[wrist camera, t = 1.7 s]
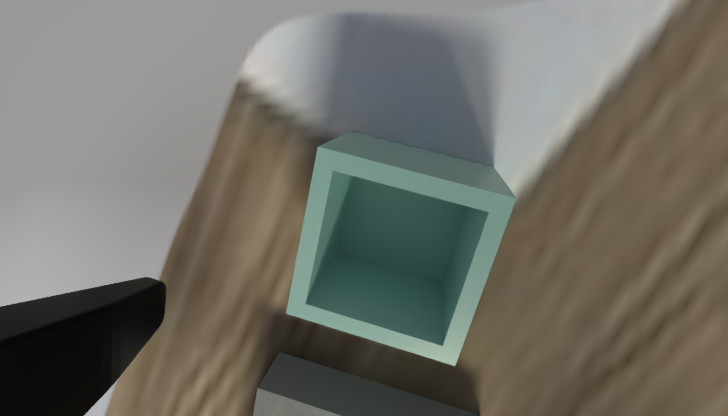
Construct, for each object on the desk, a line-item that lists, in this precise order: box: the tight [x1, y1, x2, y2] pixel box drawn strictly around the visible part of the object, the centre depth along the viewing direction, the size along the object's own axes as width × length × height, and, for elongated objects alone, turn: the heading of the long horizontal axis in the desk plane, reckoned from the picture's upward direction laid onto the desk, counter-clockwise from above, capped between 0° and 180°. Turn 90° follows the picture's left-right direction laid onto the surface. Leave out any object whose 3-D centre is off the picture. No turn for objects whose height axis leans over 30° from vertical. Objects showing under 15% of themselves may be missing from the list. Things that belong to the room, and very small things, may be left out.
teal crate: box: [286, 131, 516, 366], centre depth 15 cm, size 6×6×5 cm
